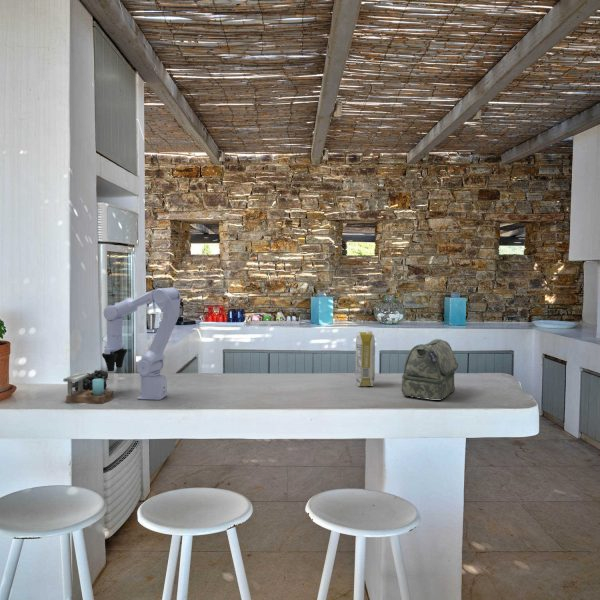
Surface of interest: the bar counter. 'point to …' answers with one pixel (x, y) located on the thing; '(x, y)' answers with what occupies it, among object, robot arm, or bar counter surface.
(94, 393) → the peg
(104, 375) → the fruit
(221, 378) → the bar counter surface
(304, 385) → the bar counter surface
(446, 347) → the lunch bag
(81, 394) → the socket station
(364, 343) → the juice carton
